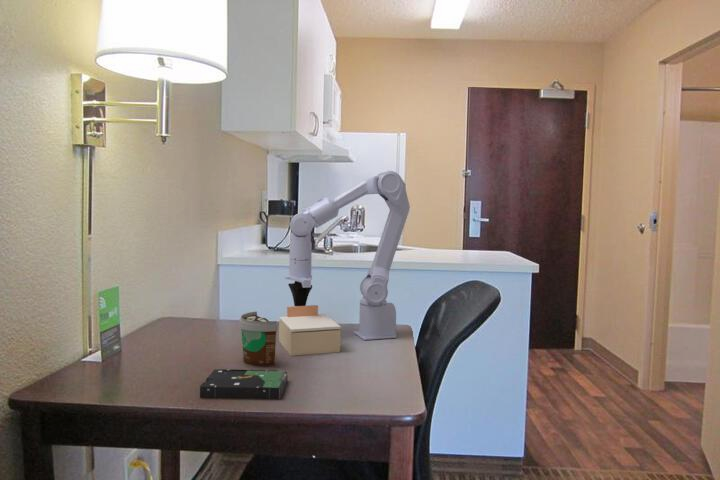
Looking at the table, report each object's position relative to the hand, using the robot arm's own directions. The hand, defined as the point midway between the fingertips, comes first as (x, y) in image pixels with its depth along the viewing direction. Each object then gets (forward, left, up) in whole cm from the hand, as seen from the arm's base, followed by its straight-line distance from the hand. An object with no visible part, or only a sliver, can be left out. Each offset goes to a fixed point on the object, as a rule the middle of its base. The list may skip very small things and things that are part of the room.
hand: (299, 310), depth 141 cm
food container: (+15, +18, -7) cm, 25 cm away
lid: (0, +9, -1) cm, 10 cm away
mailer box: (0, +9, -7) cm, 12 cm away
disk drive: (+19, +35, -8) cm, 41 cm away
